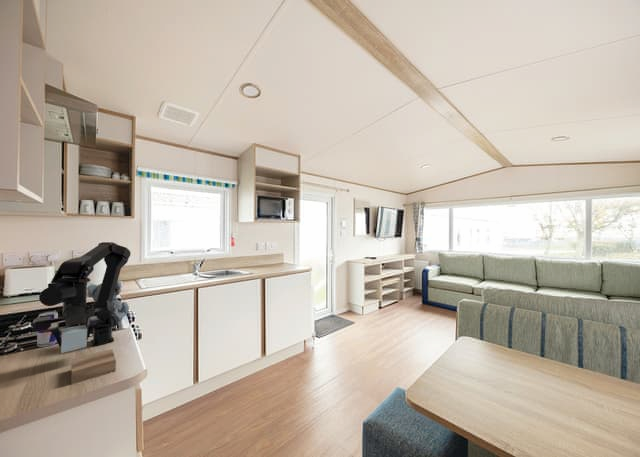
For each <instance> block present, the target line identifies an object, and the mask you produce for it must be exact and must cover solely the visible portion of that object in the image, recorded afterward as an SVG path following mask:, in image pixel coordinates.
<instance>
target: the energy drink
mask: <svg viewBox="0 0 640 457" xmlns="http://www.w3.org/2000/svg"><path fill="white" fill-rule="evenodd" d="M48 316H51V319H54V318H59V313H58V311H54V310H53V311H47V312H46V311H45V312H42V313H40V314H38V316H37V318H42V317H48ZM36 334H37V336H36V340H37V341H36V347H39V348H45V347H49V346H53V345H55V344H57V343H58V342H57V340H56V338H55V336H54V335H53V334H52V333H51V332H50V331H49V332H46V330H41V331H36Z"/></svg>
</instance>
